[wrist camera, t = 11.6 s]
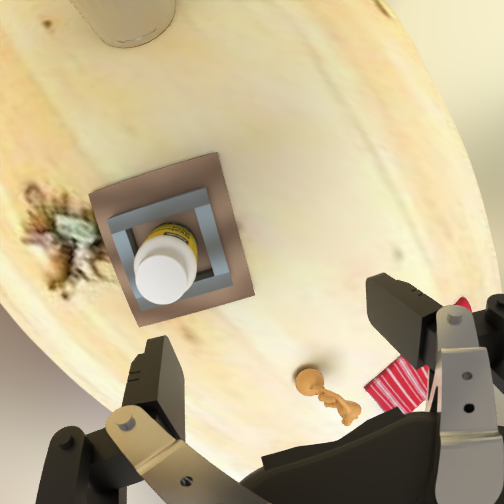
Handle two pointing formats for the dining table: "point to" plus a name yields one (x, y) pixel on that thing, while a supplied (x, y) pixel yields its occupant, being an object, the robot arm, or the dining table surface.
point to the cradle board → (184, 212)
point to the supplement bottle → (166, 263)
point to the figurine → (326, 395)
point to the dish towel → (402, 383)
